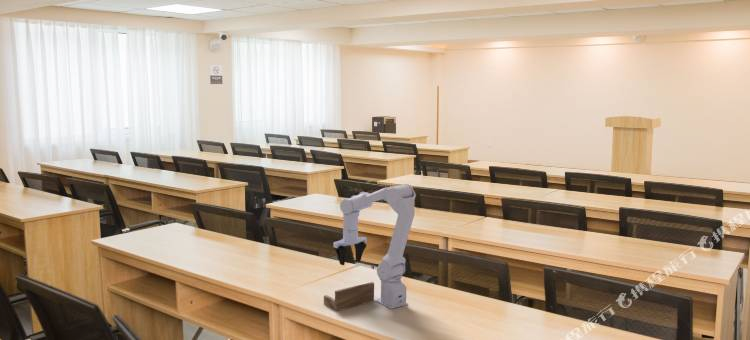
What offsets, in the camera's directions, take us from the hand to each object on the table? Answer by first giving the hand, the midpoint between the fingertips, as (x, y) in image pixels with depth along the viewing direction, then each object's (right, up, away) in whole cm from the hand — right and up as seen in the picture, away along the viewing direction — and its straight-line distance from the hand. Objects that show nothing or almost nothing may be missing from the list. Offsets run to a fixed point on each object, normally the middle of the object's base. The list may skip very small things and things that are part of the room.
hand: (350, 262), depth 228 cm
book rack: (0, -12, -13) cm, 18 cm away
